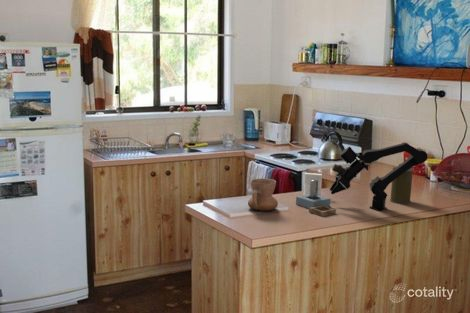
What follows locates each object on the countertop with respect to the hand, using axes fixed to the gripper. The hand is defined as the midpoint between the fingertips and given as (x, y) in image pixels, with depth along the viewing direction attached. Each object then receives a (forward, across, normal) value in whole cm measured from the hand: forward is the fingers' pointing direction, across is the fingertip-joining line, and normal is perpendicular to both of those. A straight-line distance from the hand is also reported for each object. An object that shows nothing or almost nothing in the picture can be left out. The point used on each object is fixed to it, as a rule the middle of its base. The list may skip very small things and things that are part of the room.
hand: (330, 191), depth 298 cm
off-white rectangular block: (+10, -20, -2) cm, 23 cm away
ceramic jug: (+29, +12, -19) cm, 37 cm away
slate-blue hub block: (+11, -1, -1) cm, 11 cm away
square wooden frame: (+9, +12, +2) cm, 15 cm away
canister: (-20, -19, +32) cm, 43 cm away
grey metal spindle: (+11, -1, -1) cm, 11 cm away
